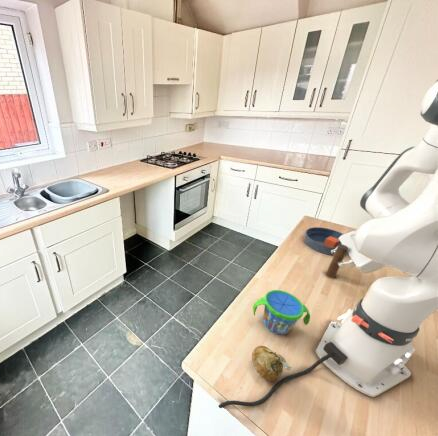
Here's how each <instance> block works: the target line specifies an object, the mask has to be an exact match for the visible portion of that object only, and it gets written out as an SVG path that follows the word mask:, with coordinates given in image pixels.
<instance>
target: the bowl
mask: <svg viewBox="0 0 438 436" xmlns="http://www.w3.org/2000/svg"><path fill="white" fill-rule="evenodd" d="M344 234H345V233H342V232H340V231H337V230H335V229H331V228H326V227H320V226H315V227H309V228H307V229H306V230H305V232H304V235H303V237H302V240H303V243H304V244H305V245H306V247H308V248H309V249H311V250H313V251H315V252H316V253H320V254H323V255H326V256H331V257H333V256H334V255H333V254H332V253H331V251H332V250H334V249H335V248H333V247H328V246H325V245H324V242H325V240H326V238H328V237H330V236H332V237H334V238H337V239H339V237H340V236H341V235H344ZM340 244H342V243H341V242H340V241H339V244H338V245H340ZM346 255H349V254H348V253H347V252H346V254H345V256H346Z"/></svg>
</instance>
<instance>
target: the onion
mask: <svg viewBox="0 0 438 436" xmlns="http://www.w3.org/2000/svg"><path fill="white" fill-rule="evenodd" d="M251 361H252V364H253V366H254V368H255V370H256V372H257V373H258V374H259V376H260V377H261V378H262V379H264V380H266V381H277V380H278V379H280V377H281V376H282V374H283V372H284V368H285V370H286V371H290V370H291V369H292V366H291V365H290V364H289V363H288V362H287V361H286V360H285V358H284V357H283V356H282V354H281V355H280V354H279V353H277V352H275V351H273V350H271V348H269V347H268V346H265V345H258V346H256V347H255V348H254V349H253V351H252V354H251Z"/></svg>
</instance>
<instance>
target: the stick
mask: <svg viewBox="0 0 438 436" xmlns="http://www.w3.org/2000/svg"><path fill="white" fill-rule="evenodd" d="M347 250H348V247H347V246H345V245H342V244H340V245H338V247H337V249H336V252H335V254H334V256H332V259H331V261H330V262H329V263H330V264H329V266H328V268H327V270H326V272H325V275H326V276H327V277H328V278H331V279H334V278H336V276H337V273H338V271H339V269H340V267H339V265H338V263H339V262H341V261H343V260H344V259H345V256H346V255H345V254H346V252H347ZM343 262H344V261H343Z"/></svg>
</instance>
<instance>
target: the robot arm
mask: <svg viewBox="0 0 438 436" xmlns="http://www.w3.org/2000/svg"><path fill="white" fill-rule="evenodd" d="M420 117H421V118H422V119H423V120H424V121H425V122H427V123H429V124H431V125H430V126H429V128H428V129H427V131H426V132H425V133H424V135H423V136H422V138H421V140H420V141H419V142H418V143H417V144H416V145H414V146H410V147H408V148H406V149H405V150H403V151H402V152H400V154H399V155H398V156H396V158H395V159H394V160H393V161H392V162H391V164H390V165H389V166H388V167H387V169H386V170H385V171H384V172H383V173H382V175H381V176H380V177H379V178H378V180H377V181H376V182H375V183H374V185H372V186H371V187H370V188H369V189H368V190H367V191H366V192H364V193H363V195H362V196H361V199H360V201H359V206H360V207H361V209H362V210H364V211H365V212H366V213H367V214H368V215H369V216H370V217H371V218H372V219H369V220H367V221H365V222H363V223H362V224H361V225H360V226H359V227H358V228H357V229H356V230H352V231H348V232H346V233H343V234H344V235H341V236H340V237H339V240H340V242H341V243H342V245H345V246H347V247H348V250H347V253H348V254H347V255H348V256H349V258H350V259H349V260H348V261H341V262H339V263H338V265H339V269H344V268H354V267H356V268H357V269H358V271H359V272H360V273H362V274H370V273H373V272H376V271H378V270H381V269H383V268H385V267H388V268H392V269H394V270H396V271H400V272H403V273H405V274H408V275H410V276H395V275H394V276H392V275H390V276H389V275H388V276H383V277H381V278H378V279H376V280H374V281H373V282H372V283H371V285H370V287H369V288H368V290H367V291H366V294H365V295H364V297H363V298H361V299H360V300H359V302H358V303H357V304H356V305H355V307H354V308H348V309H347V311H346V313H344V314H342V315H340V316H338V317H337V320H338V321H335V320H332V321H331V322H330V323H329V324H328V326H327V328H326V330H325V332H324V334H323V335H322V337H321V340H320V341H319V343H318V345H317V347H316V349H315V354H316V355H317V357H318V358H319V359H318V360H316V361H315V362H314V363H313V364H312V365H311V366H309V367H308V368H306V369H304V370H301V371H299V372H297V373H293V374H289V375H288V376H285V377H283V378H281V379H280V380H278V381H277V382H276V383H275V384H274V385H273V387H272V388H270V390H269V391H268V392H267V393H266V395H264V396H263V397H262V398H260V399H258V400H256V401H241V400H226V401H223V402H221V403H219V404H218V408H219V409H223V408H224V407H228V406H242V407H257V406H260V405H262V404H263V403H266V401H268V400H269V399H270V398H271V397H272V396H273V394H274V393H275V392H276V391H277V389H278V388H279V387H280V386H282V385H283V384H285V383H286V382H288V381H290V380H293V379H296V378H299V377H303V376H305V375H306V374H307V375H308V374H309V373H310V372H312V371H313V370H315V369H316V368H317V367H318V366H319V365H320V364H322V363H323V364H324V365H325V366H326V367H327V368H328V369H329V370H330V371H331V372H332V373H333V374H334V375H336V376H337V377H338V378H339V379H341V380H342V381H343V382H345V383H346V384H347V385H348V386H350V387H352V388H353V389H354V390H356V391H358V392H360V393H362V394H364V395H366V396H369V397H370V398H376V397H377V396H380V395H381V394H383V393H384V392H386V391H388V390H390V389H392V388H393V387H395V386H396V385H399V384H400V383H402V382H403V381H405V380H407V379H409V378H410V376H411V375H412V373H411V371H410V369H409V368H408V367H407V366H406V364H408V362H409V361H411V359H410V358H411V357H412V355H413V354H414V353H415V351H416V348H415V346H414V344H413V340H414V339H415V338H416V337H417V336H418V334H419V332H420V327H421V325H422V324H423V323H424V322H425V321H426V320H427V319H428V318H429V317H430V316H431V315H433V313H434V312H435V311H437V310H438V79H436V80H435V82H434V83H433V84H432V85H431V86H430V87H429V89H428V90H427V91H426V92H425V94H424V96H423V98H422V100H421V104H420ZM414 172H417V173H422V174H427V175H432V177H431V178H430V180H429V181H428V183H427V184H426V186H425V187H424V189H423V190H422V192H421V193H420V194H418V197H416V198H415V199H414V200H413V201H412V202H408V200H406V199H405V197H403V196H402V195H401V193H400V187H401V186H402V185H403V184H404V183H405V182H406V181H407V180H408V179H409V178H410V177H411V176H412V174H413V173H414ZM337 247H338V246H337ZM337 247H336V248H335V249H334V250H332V251H331V253H332V254H333V255H334V254H335V252H336V249H337ZM341 319H342V320H341ZM339 320H341V322H339Z"/></svg>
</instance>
